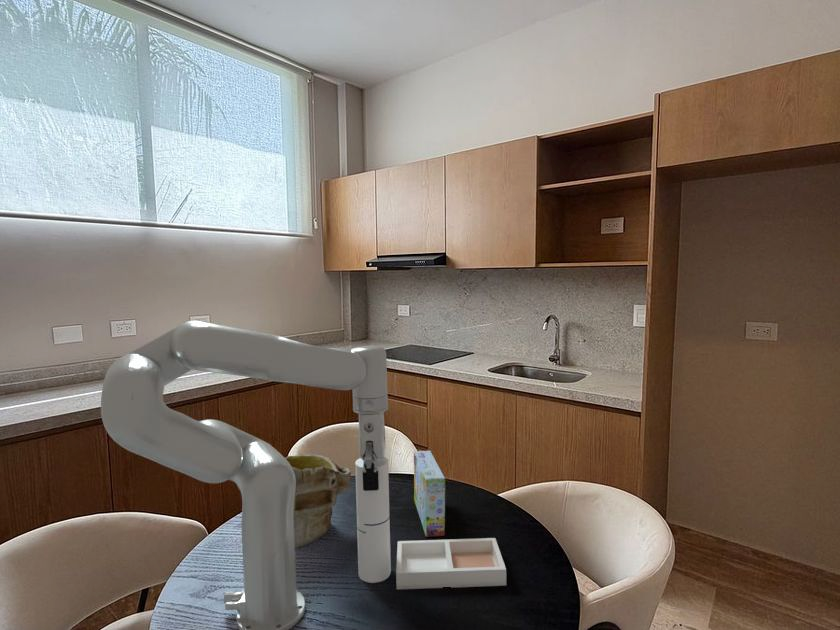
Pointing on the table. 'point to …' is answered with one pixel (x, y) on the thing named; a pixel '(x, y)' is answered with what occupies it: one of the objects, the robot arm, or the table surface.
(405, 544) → the two-bay tray
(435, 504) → the snack box
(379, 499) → the cylindrical container
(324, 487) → the ceramic vessel
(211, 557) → the table surface
